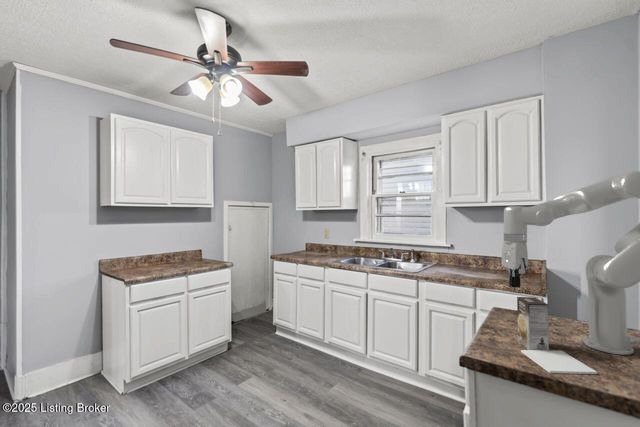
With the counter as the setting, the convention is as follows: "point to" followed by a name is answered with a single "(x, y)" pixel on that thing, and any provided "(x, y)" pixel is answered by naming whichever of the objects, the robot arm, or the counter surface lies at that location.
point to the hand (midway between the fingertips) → (514, 286)
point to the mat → (558, 362)
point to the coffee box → (532, 323)
